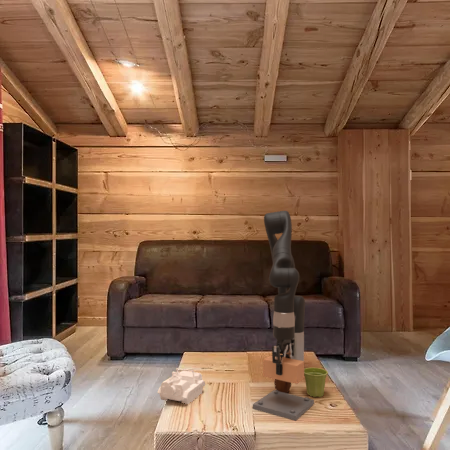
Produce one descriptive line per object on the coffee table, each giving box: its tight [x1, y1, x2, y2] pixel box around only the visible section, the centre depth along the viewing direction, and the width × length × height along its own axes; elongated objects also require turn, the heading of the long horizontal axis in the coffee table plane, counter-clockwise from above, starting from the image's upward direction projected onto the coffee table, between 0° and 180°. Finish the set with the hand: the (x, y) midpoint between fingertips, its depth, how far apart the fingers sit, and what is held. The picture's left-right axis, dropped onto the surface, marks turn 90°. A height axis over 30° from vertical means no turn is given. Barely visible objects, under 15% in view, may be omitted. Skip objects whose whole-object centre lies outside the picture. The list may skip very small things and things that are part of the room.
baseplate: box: [252, 389, 315, 421], centre depth 139 cm, size 16×16×2 cm
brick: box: [262, 354, 305, 385], centre depth 140 cm, size 6×13×6 cm, turn 56°
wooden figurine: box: [274, 379, 292, 394], centre depth 153 cm, size 7×6×15 cm
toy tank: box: [157, 367, 206, 405], centre depth 146 cm, size 12×20×10 cm, turn 157°
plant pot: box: [304, 367, 329, 398], centre depth 151 cm, size 9×9×9 cm
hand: (283, 371), depth 140 cm, fingers closed on brick, 6 cm apart
